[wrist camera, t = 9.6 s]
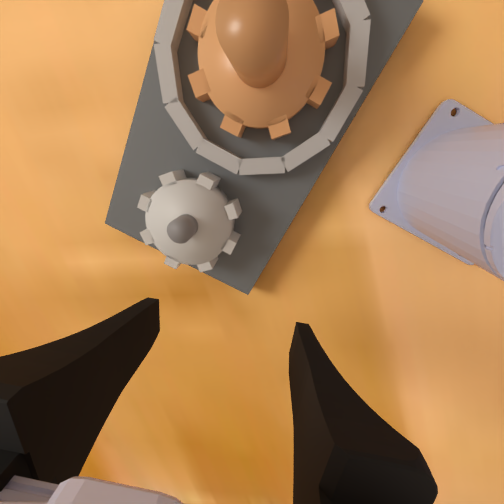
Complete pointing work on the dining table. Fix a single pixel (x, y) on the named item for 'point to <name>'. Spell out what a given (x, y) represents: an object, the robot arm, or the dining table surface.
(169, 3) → the carrier plate
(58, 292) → the dining table surface
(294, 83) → the planet gear
